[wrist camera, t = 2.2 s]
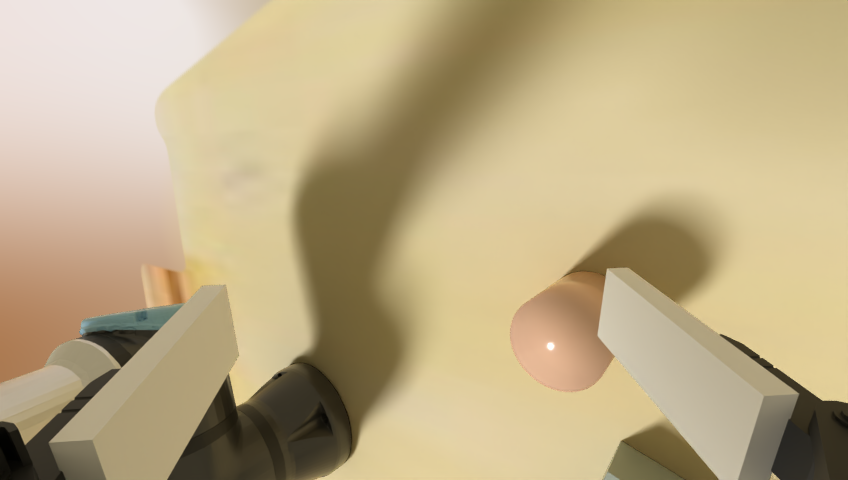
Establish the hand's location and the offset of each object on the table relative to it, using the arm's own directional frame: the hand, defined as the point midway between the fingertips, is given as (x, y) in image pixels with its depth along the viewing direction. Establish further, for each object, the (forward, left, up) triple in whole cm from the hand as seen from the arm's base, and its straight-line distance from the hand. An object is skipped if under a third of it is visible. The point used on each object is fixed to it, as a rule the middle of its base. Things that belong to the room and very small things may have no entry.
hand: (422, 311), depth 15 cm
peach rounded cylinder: (-7, -2, -21) cm, 22 cm away
